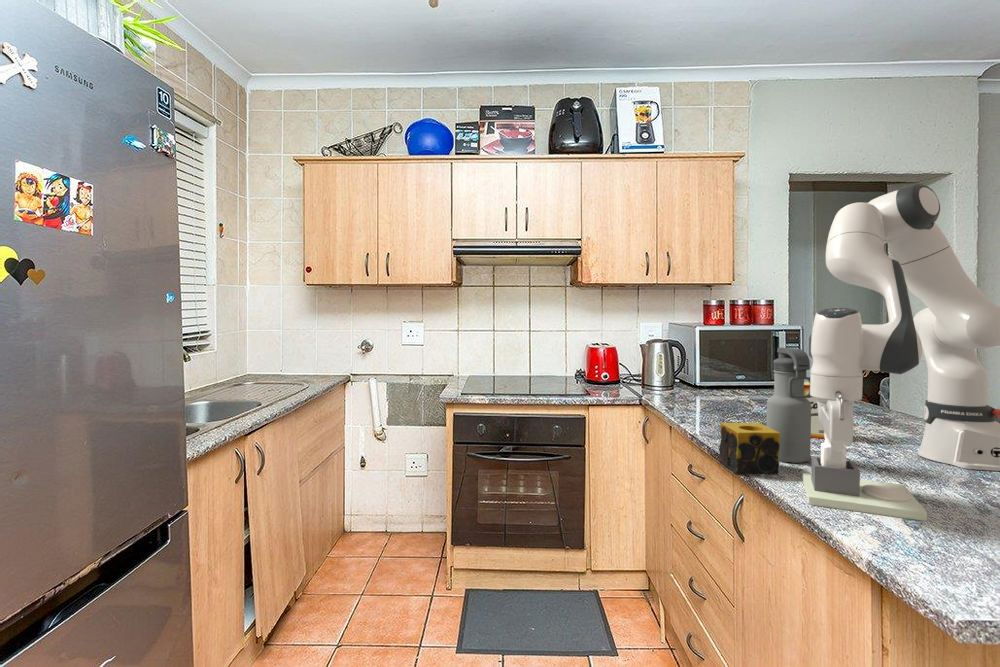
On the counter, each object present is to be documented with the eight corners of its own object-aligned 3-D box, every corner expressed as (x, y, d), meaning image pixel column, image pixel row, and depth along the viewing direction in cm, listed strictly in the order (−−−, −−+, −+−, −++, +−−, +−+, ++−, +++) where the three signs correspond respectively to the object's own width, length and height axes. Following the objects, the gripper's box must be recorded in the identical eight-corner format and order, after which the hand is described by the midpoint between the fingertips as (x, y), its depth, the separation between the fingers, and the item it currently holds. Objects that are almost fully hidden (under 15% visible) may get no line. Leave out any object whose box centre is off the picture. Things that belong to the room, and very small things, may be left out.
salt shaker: (822, 476, 102) (823, 430, 102) (820, 470, 106) (821, 425, 105) (846, 479, 100) (847, 432, 100) (842, 473, 104) (844, 427, 103)
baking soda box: (799, 437, 149) (800, 383, 149) (799, 432, 155) (800, 380, 154) (838, 441, 145) (839, 385, 144) (836, 436, 150) (837, 382, 150)
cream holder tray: (904, 492, 104) (904, 461, 104) (926, 521, 90) (928, 485, 90) (802, 479, 112) (803, 450, 112) (808, 504, 98) (809, 471, 98)
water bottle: (820, 463, 124) (822, 349, 122) (782, 465, 123) (784, 350, 122) (793, 452, 134) (795, 346, 132) (758, 453, 133) (759, 347, 132)
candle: (717, 462, 126) (718, 422, 126) (759, 462, 126) (759, 422, 125) (735, 475, 116) (736, 432, 115) (780, 475, 116) (781, 432, 115)
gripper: (863, 397, 91) (862, 473, 92) (846, 382, 110) (845, 445, 110) (822, 395, 94) (821, 468, 95) (812, 381, 112) (811, 442, 113)
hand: (834, 456), depth 103 cm, fingers closed on salt shaker, 4 cm apart
